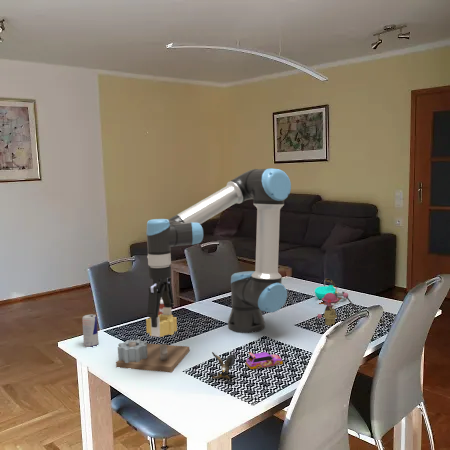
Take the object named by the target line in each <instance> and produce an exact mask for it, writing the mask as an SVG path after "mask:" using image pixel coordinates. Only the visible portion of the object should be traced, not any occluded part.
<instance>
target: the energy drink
mask: <svg viewBox="0 0 450 450" xmlns="http://www.w3.org/2000/svg"><path fill="white" fill-rule="evenodd" d="M81 321H82V337H83V347H84V346H85V347H84V348H86V347H92V348H94V347H93V346H96V347H98V346H99V344H100V343H99V330H98V329H99V328H98V327H99V326H98V317H97V315H96V314H93V313H91V314H85V315H83V316H82V318H81ZM97 345H98V346H97Z"/></svg>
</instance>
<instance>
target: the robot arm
mask: <svg viewBox="0 0 450 450" xmlns="http://www.w3.org/2000/svg"><path fill="white" fill-rule="evenodd" d="M291 189H292V183H291V179H290V177H289V176H288V174H287V173H286V172H285V171H284V170H281V168H280V169H278V168H259V169H258V168H254V169H249V170H248V171H245V172H243V173H241V174H240V175H238V176H236V177H234V178H233V179H231V180H229V181H227V183H226V186H224V187H222V188H221V189H219V190H217V191H215V192H214V193H212V194H210V195H209V196H207V197H206V198H203V199H202V200H200V201H198V202H197V203H195V204H193V205H191V206H189V207H188V208H186V209H184V210H182V211H181V212H179V213H177V214H176V215H174V216H172V217H170V218H169V219H167V218H154V219H149V220H148V221H147V222H146V233H145V234H146V243H147V247H146V248H147V256H146V258H147V265H148V268H147V269H148V270H147V273H148V275H147V276H148V278H149V279H151V280H152V285H149V286H148V298H147V299H148V300H147V301H148V303H147V317H148V318H150V317H151V335H152V336H151V337H157V338H158V337H159V338H161V337H160V319H159V317H158V313H159V307H160V301H161V297H162V300H163V303H164V306H165V307H164V308H163V315H173V314H172V308H174V307H175V304H174V303H175V301H174V300H175V299H174V295H173V294H174V293H173V288H172V267H171V265H172V258H171V257H172V255H171V247H178V246H179V247H181V246H190V245H191V246H193V245H196V244H197V245H198V244H200V243H201V242H203V239H204V228H203V227H202V226H203V225H202V224H203V223H205V222H206V221H208V220H209V219H211V218H213V217H215V216H217V215H219V214H220V213H222V212H223V211H225V210H226V209H228V208H230V207H231V206H233V205H235V204H242V203H244V202H245V201H248V200H253V202H252V203H253V206H254V207H256V209H257V210H256V241H255V242H256V246H255V269H254V270H248V271H240V272H235V273H232V275H231V276H230V291H231V292H230V293H231V297H230V298H231V311H230V315H229V317H228V322H227V325H228V328H227V329H228V330H230V331H232V332H234V333H238V334H241V333H242V334H252V333H257V332H260V331H262V330H264V329H265V327H266V325H265V324H266V323H265V318H264V316H263V312H266V313H271V314H272V313H275V312H278V311H280V310H281V308H282V307H283V306H284V305H285V304H286V302H287V299H288V290H287V288H286V287H285V285H283V284H282V279H283V278H282V275H281V274H280V273H279V247H280V245H279V243H280V217H281V209H282V208H283V206H285V200H286V199H287V198H288V197H289V196H290V194H291Z"/></svg>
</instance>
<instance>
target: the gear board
mask: <svg viewBox="0 0 450 450" xmlns="http://www.w3.org/2000/svg"><path fill="white" fill-rule="evenodd" d="M135 346H136V342H130V343H129V347H135ZM190 350H191V349H190V346H188V345H187V346H186V345H185V346H184V345H171V344H167V343H162V344H159V343H158V344H156V343H147V352H148V354H147V358H146V359H141V360H140V362H136V361H134V362H129V363H125V361H123V360H121V361H119V360H117V361H116V362H115V366H116V367H115V368H117V367H120V368H119V369H128V368H131V369H130V370H139V371H140V370H141V371H149V372H150V371H151V372H159V373H160V372H161V373H173V371H174V370H175V369H177V367H178V366H179V365H180V363H181V362H182V361H183V360H184V358H186V356H187V355H188V353H190Z"/></svg>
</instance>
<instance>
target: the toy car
mask: <svg viewBox="0 0 450 450" xmlns="http://www.w3.org/2000/svg"><path fill="white" fill-rule="evenodd" d="M248 354H249V356H248V357H247V358H246V359H245V365H246V366H247V367H248V368H249V369H250V370H253V369H255V370H258V369H261V368H269V367H274V366H276V365H277V366H280V365H283V364H284V362H283V360H282V357H280V355H278V354H275V353H274V354H269V353H268V352H267V351H263V352H258V353H253V352H251V351H250V352H248Z"/></svg>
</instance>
